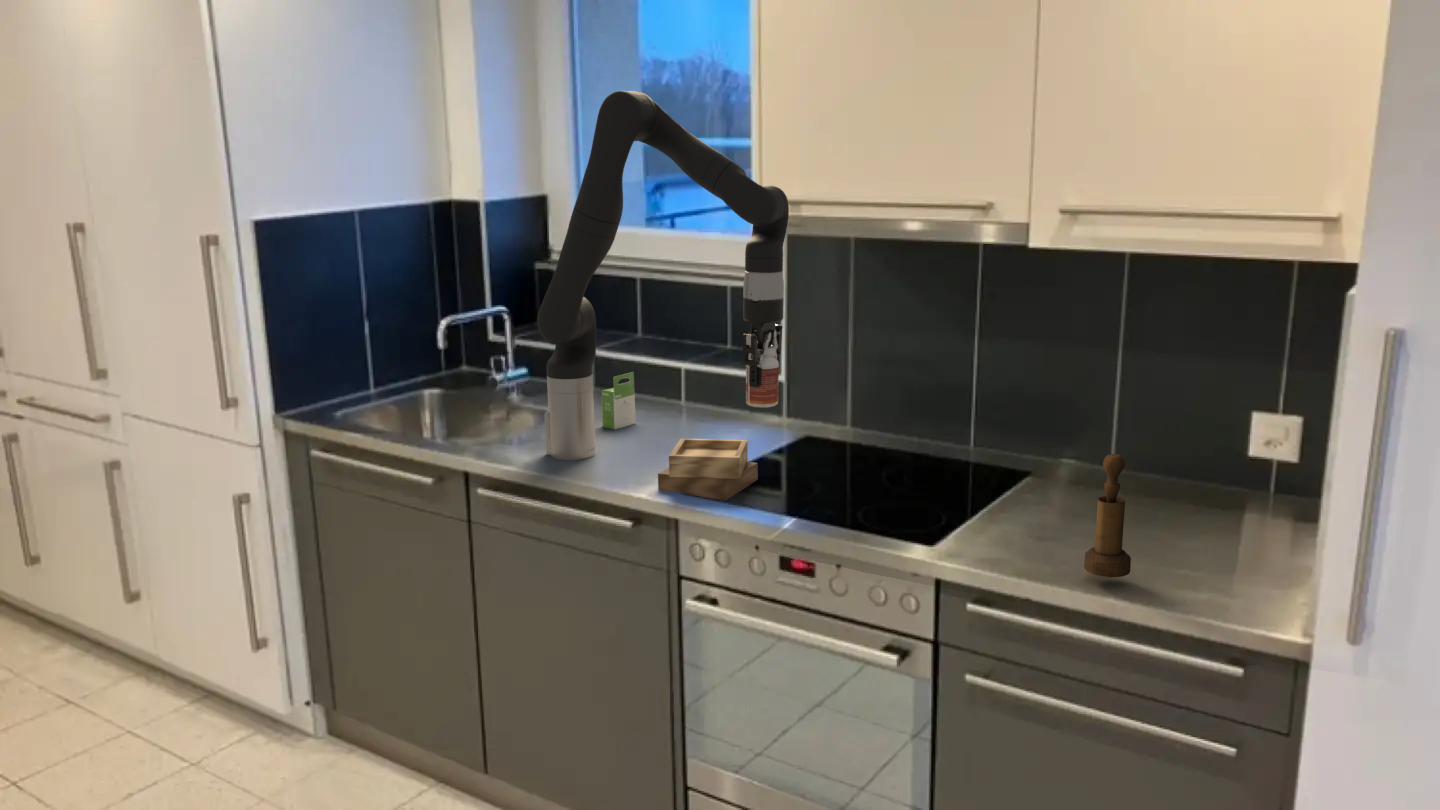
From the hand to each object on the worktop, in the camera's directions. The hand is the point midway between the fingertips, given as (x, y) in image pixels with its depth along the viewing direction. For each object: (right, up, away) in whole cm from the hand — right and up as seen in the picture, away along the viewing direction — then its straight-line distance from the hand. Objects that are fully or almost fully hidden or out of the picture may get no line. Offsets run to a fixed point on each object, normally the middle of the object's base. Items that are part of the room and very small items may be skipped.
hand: (762, 383), depth 226 cm
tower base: (-10, -20, 0) cm, 22 cm away
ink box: (-30, -10, +42) cm, 53 cm away
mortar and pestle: (+50, -29, -46) cm, 74 cm away
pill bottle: (0, -4, +1) cm, 4 cm away
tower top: (-10, -16, -1) cm, 19 cm away
